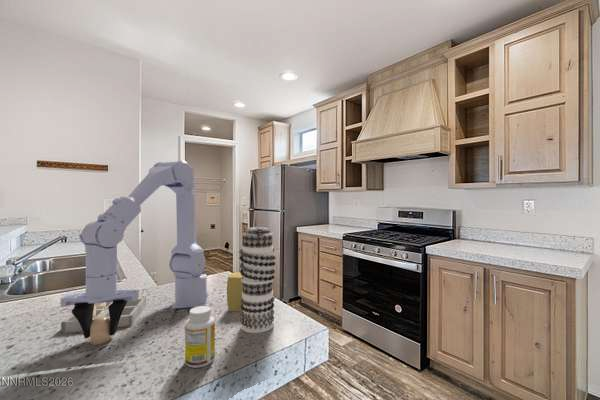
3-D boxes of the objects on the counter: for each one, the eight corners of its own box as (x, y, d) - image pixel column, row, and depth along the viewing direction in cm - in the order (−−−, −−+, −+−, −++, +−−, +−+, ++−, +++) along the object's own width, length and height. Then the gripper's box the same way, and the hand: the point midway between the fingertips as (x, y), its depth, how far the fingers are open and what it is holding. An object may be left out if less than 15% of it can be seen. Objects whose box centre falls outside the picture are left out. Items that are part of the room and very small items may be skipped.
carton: (145, 307, 83) (145, 297, 83) (131, 327, 69) (131, 315, 70) (87, 313, 78) (87, 302, 78) (61, 335, 65) (61, 322, 65)
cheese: (234, 299, 90) (235, 268, 90) (267, 299, 90) (268, 268, 90) (226, 312, 80) (226, 277, 80) (263, 312, 80) (263, 277, 80)
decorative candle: (238, 319, 74) (238, 226, 75) (272, 316, 77) (272, 226, 77) (239, 335, 65) (240, 229, 66) (278, 331, 68) (278, 229, 68)
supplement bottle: (205, 350, 59) (205, 302, 59) (220, 360, 55) (220, 308, 55) (179, 362, 55) (179, 310, 55) (194, 373, 51) (194, 317, 51)
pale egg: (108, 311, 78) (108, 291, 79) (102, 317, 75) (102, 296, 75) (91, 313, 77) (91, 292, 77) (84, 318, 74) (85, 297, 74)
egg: (114, 336, 65) (114, 312, 65) (107, 345, 61) (107, 319, 61) (94, 339, 64) (94, 314, 64) (86, 347, 60) (86, 321, 60)
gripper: (52, 281, 57) (51, 348, 56) (132, 276, 61) (131, 338, 60) (70, 273, 63) (69, 332, 63) (141, 269, 67) (140, 325, 67)
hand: (101, 334), depth 62 cm, fingers open, 4 cm apart
